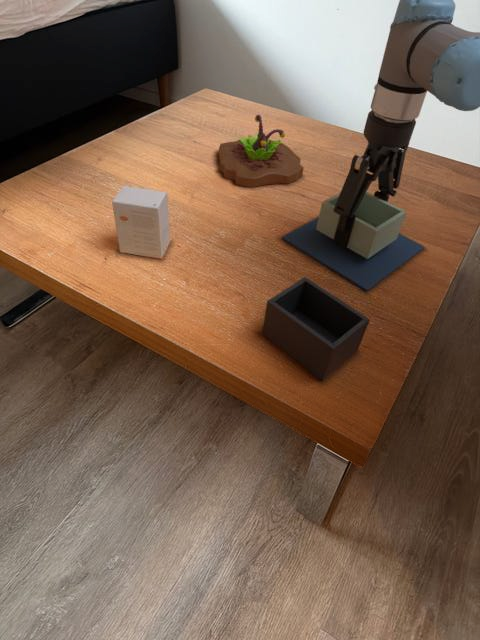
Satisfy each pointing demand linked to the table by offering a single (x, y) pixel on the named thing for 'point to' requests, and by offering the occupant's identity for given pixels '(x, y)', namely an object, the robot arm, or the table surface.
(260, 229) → the table surface
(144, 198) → the small box
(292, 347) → the bin lower
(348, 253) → the mat
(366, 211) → the green open bin
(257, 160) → the plant
